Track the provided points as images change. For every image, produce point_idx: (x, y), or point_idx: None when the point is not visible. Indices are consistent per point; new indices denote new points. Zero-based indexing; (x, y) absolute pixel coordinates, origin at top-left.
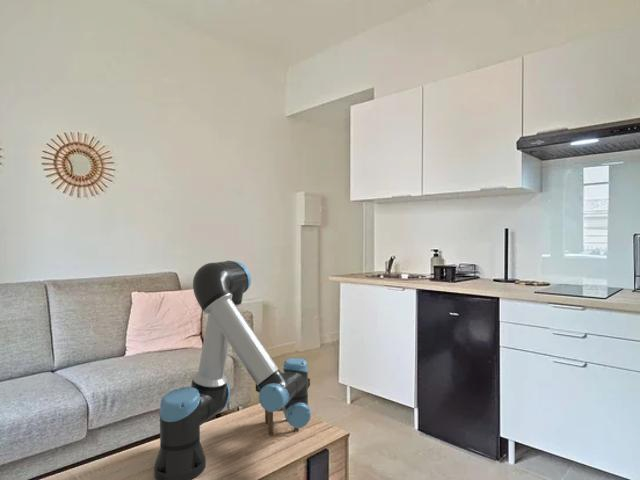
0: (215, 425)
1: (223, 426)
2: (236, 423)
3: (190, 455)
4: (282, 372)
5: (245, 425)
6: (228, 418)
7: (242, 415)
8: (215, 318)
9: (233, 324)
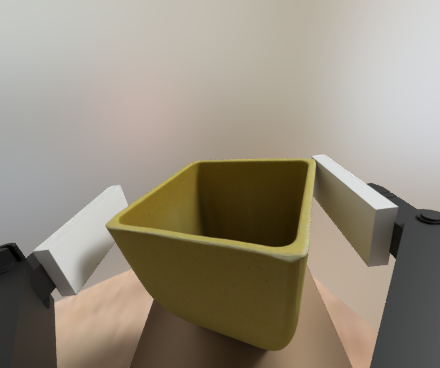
0: (59, 319)
1: (71, 331)
2: (113, 318)
3: None
4: (230, 160)
5: (129, 339)
6: (113, 285)
7: None
8: None
9: None
